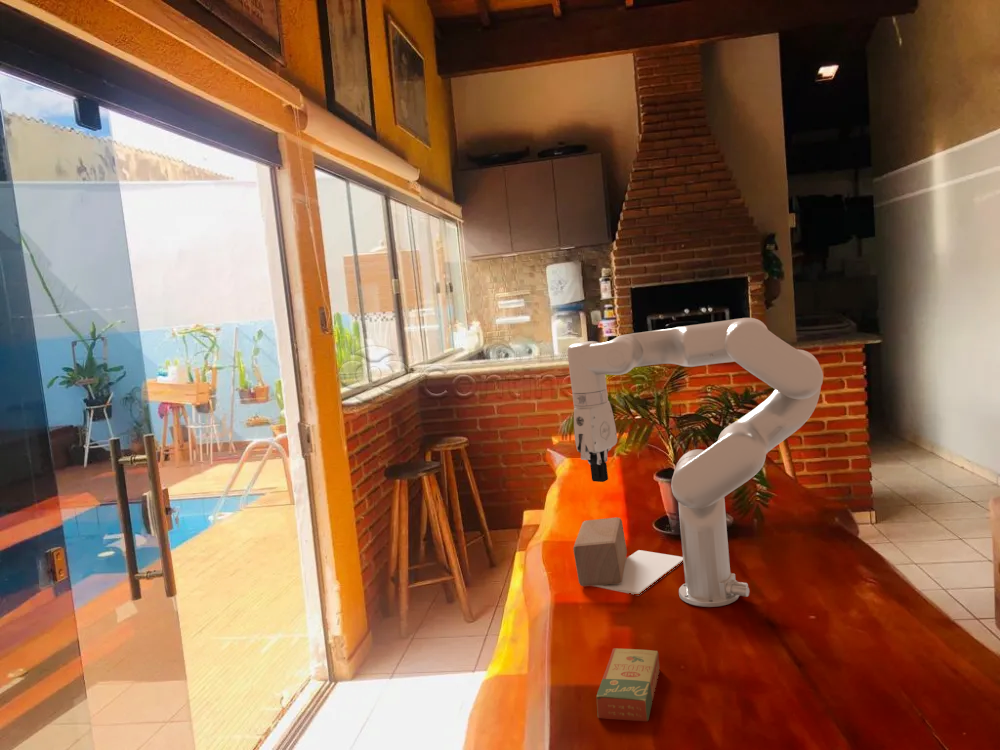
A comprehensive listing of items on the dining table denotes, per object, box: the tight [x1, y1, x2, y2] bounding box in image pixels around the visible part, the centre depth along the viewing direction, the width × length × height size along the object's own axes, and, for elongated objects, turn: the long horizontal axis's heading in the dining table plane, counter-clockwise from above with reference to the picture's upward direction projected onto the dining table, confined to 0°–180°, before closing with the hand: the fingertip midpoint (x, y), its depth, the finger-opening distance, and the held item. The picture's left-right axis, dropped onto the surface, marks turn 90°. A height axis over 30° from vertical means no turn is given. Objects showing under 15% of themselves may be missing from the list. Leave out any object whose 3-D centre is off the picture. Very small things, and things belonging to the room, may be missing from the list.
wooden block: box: [572, 516, 628, 587], centre depth 181 cm, size 10×10×20 cm
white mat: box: [593, 549, 683, 595], centre depth 179 cm, size 13×22×1 cm, turn 139°
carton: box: [596, 647, 660, 722], centre depth 129 cm, size 8×16×4 cm, turn 161°
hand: (600, 480), depth 167 cm, fingers closed
